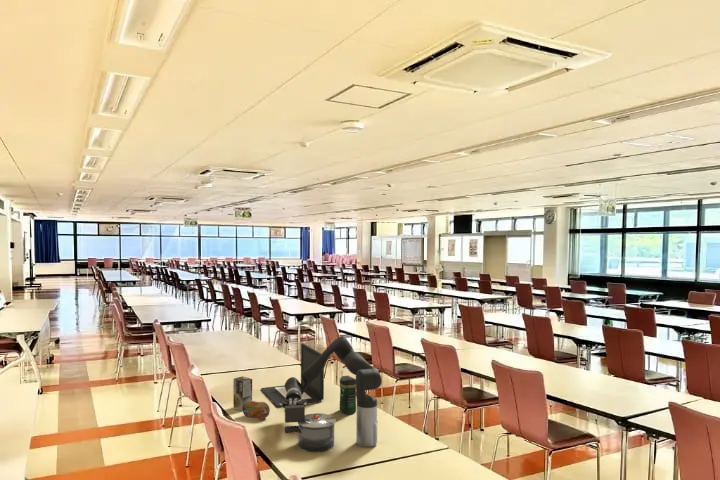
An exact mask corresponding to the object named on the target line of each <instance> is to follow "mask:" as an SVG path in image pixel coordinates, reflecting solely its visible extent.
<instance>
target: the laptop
mask: <svg viewBox="0 0 720 480" xmlns="http://www.w3.org/2000/svg"><path fill="white" fill-rule="evenodd" d="M300 345H301V346H300V374H301V373H302V372H303V371H304V370H305V369H307V368H308V367H309V366H310V365H311V364H312V363H314V362H315V361H316V360H317V359H318V357H319V356H320V355H321V354H322V353H321V352H319V351H318V350H316V349H314V348H312V347H310V345H309V346H308V345H307V344H305V343H304V342H303V343H301V344H300ZM324 380H325V368H324V369H323V371H322V373H321V374H320V375H319V376H318V377H317V378H316V379H315V380H314V381H312V382H311V383H310V384H309V386H308V387H307V388H306V390H305V391H304V393H303V394H302V397H301V399H302V401H303V400H306V405H311V404H318V403H322V401H324V396H325V395H324V393H325V392H324V391H325V386H324V385H325V381H324ZM300 384H301V385H303V379H302V377H301V376H300ZM260 391H261V392H262V393H263V394H264V395H265V396H266V397H267V398H268V399H269V400H270V401H271V402H272V403H273V405H275V406H276V408H279V409H280V408H282V407H280V401H284V400H285V399H286V394H287V392H286V389H285V384H284V385H276V386H267V387H266V386H265V387H261V388H260Z"/></svg>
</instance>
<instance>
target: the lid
mask: <svg viewBox="0 0 720 480" xmlns="http://www.w3.org/2000/svg"><path fill="white" fill-rule="evenodd" d="M305 410H306V406H304V405H297V406H285V408H284V423H285V424H288V423H289V424H290V423H297V424H298V426H299V425H300V426H303V427H306V428H325V427H329V426H331V425H333V424H334V425H335V424H336V420H337V419H336V417H335V416H333V415H331V414H326V413H318V412H317V413H309V414H306V413H305V412H306V411H305Z"/></svg>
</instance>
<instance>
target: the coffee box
mask: <svg viewBox="0 0 720 480" xmlns="http://www.w3.org/2000/svg"><path fill="white" fill-rule="evenodd" d="M232 381H233V382H232V383H233V386H232V387H233V393H232V395H233V407H232V408H233V409H235V410H238V411H242V412H243V410H242V408H243V405H244V403H245V402H247V401H253V379H252V378H250V377H246V376H243V375H242V376H238V377H235V378H233V380H232Z"/></svg>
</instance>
